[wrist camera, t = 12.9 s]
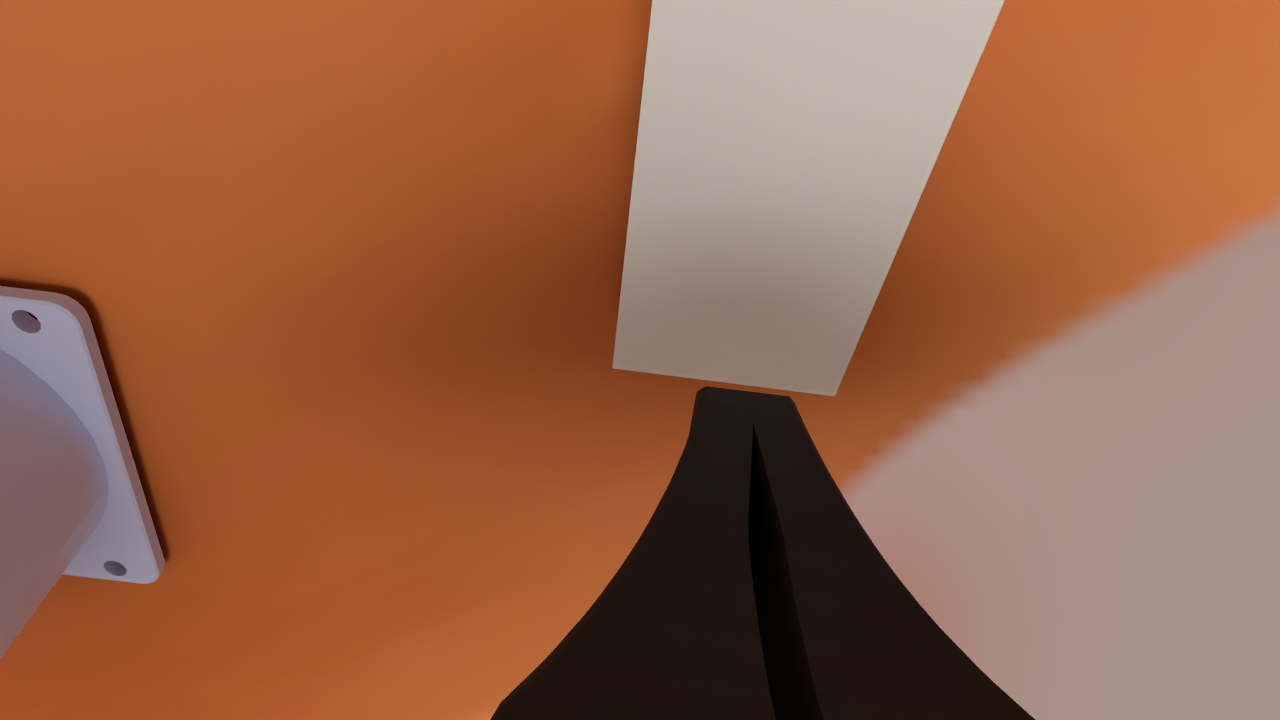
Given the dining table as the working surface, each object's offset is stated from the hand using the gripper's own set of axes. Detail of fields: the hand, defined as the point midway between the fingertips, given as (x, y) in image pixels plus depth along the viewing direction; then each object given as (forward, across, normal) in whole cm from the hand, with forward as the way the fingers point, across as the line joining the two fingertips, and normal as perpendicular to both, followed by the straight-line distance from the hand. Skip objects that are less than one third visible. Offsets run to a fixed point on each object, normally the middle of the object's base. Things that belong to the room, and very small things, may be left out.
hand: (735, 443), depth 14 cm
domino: (+3, 0, +1) cm, 4 cm away
